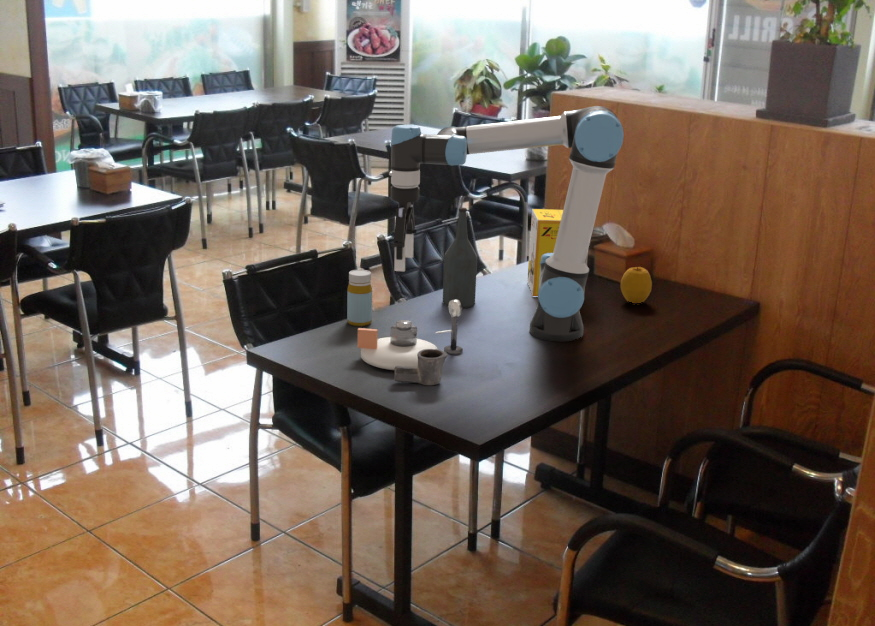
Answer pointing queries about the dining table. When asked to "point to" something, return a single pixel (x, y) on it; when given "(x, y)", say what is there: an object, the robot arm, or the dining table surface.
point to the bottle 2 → (460, 267)
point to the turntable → (388, 350)
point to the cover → (403, 334)
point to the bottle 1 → (359, 298)
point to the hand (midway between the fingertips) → (404, 264)
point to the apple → (636, 284)
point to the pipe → (423, 368)
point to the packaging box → (542, 242)
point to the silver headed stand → (453, 328)
